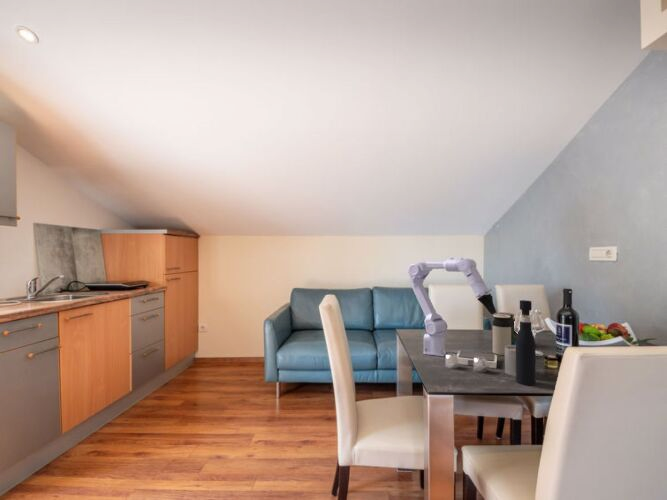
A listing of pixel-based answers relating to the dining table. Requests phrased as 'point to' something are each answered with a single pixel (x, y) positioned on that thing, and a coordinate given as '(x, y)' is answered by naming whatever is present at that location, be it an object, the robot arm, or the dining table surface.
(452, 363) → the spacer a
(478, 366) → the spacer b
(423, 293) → the robot arm
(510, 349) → the grey upright block
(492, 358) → the cream u-shaped bracket
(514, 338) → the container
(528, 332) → the black water bottle
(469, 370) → the dining table surface
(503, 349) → the travel mug
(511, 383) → the dining table surface
